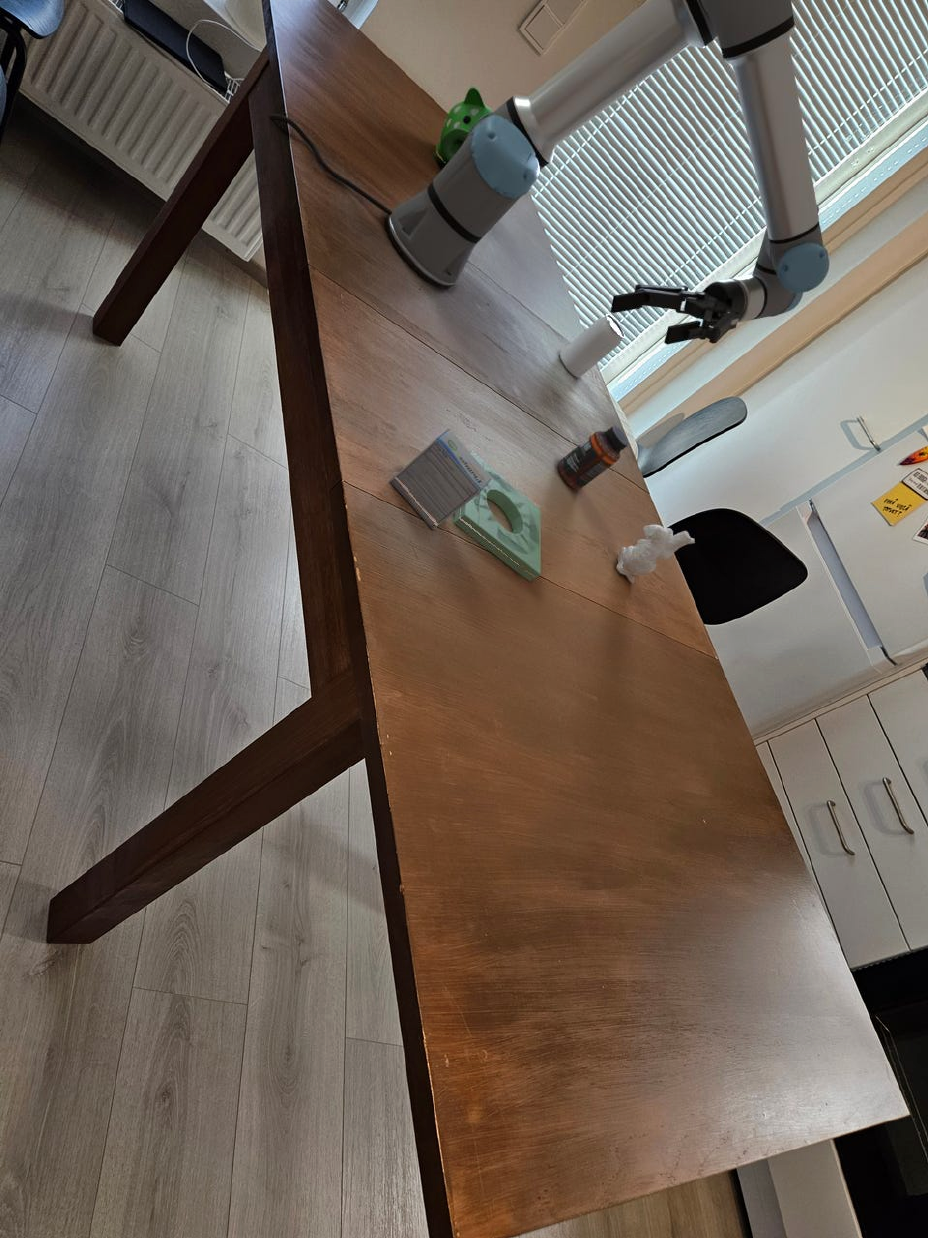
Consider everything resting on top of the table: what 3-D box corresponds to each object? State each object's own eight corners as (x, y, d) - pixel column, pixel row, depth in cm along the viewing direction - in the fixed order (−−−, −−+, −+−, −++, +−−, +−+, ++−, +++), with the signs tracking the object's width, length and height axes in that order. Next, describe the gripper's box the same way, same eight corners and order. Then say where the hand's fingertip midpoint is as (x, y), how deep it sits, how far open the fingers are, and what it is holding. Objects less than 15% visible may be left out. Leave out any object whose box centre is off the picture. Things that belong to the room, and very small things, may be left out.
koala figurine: (633, 564, 135) (693, 526, 129) (642, 595, 132) (704, 558, 125) (602, 544, 130) (663, 503, 124) (611, 576, 126) (674, 536, 120)
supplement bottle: (584, 489, 136) (637, 450, 130) (570, 492, 131) (625, 452, 125) (565, 460, 137) (618, 419, 130) (551, 462, 132) (604, 420, 125)
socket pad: (453, 523, 100) (464, 514, 99) (461, 458, 110) (471, 450, 109) (530, 582, 107) (541, 574, 106) (530, 516, 117) (540, 509, 116)
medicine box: (444, 518, 100) (493, 478, 95) (431, 532, 96) (482, 491, 91) (402, 469, 98) (450, 426, 93) (388, 481, 94) (436, 437, 90)
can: (572, 379, 160) (620, 339, 153) (554, 352, 160) (601, 311, 153) (583, 377, 165) (629, 339, 159) (565, 351, 165) (611, 312, 159)
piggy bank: (417, 150, 161) (468, 87, 153) (432, 131, 174) (480, 73, 166) (467, 205, 167) (519, 148, 158) (478, 183, 180) (527, 129, 172)
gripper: (776, 350, 136) (686, 372, 126) (676, 297, 151) (588, 313, 141) (792, 306, 131) (699, 325, 121) (686, 256, 146) (596, 270, 136)
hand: (639, 319), depth 131 cm, fingers open, 13 cm apart
